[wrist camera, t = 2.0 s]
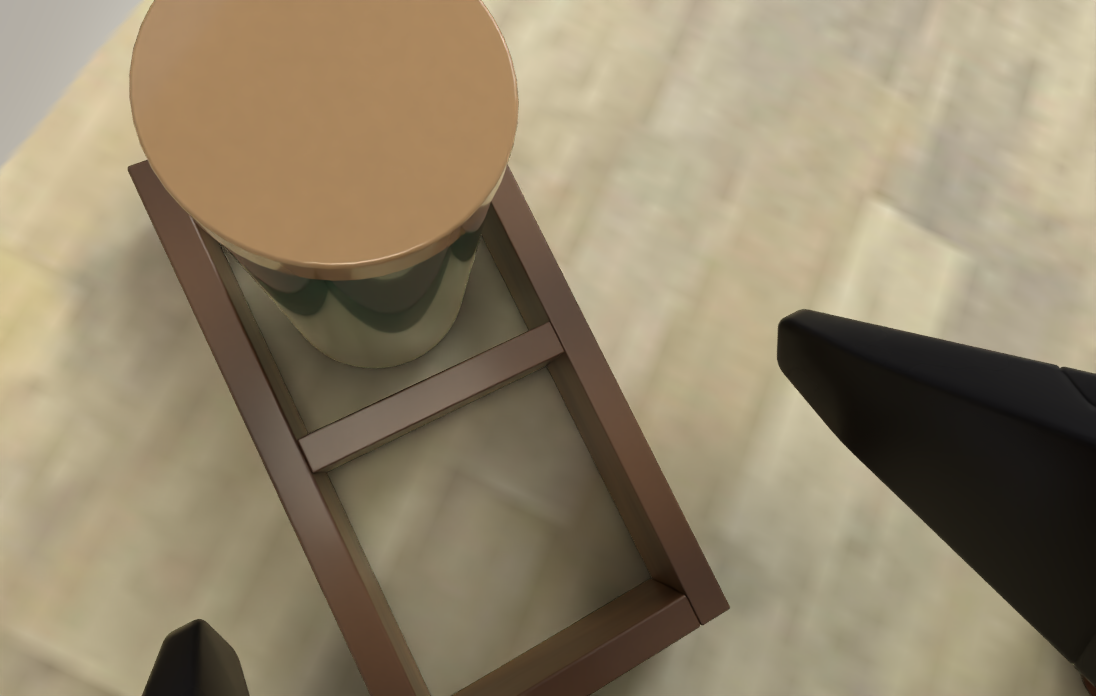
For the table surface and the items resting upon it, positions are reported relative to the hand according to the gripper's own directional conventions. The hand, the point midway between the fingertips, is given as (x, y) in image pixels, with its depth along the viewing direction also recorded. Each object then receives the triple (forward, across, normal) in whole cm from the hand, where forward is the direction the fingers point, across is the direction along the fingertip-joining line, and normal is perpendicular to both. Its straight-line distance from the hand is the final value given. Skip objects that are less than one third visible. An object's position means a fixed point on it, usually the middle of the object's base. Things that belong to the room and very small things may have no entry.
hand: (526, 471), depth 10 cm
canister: (+14, 0, +4) cm, 14 cm away
